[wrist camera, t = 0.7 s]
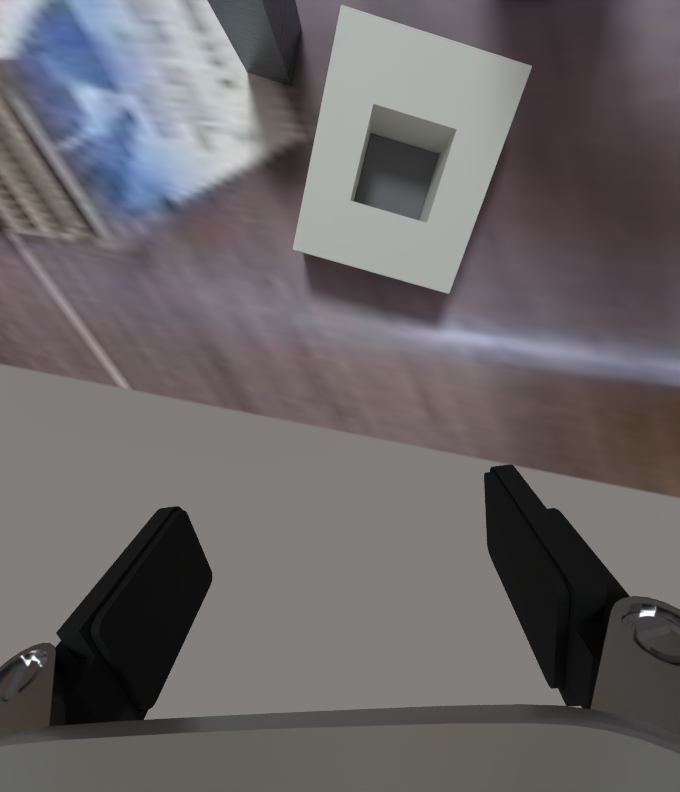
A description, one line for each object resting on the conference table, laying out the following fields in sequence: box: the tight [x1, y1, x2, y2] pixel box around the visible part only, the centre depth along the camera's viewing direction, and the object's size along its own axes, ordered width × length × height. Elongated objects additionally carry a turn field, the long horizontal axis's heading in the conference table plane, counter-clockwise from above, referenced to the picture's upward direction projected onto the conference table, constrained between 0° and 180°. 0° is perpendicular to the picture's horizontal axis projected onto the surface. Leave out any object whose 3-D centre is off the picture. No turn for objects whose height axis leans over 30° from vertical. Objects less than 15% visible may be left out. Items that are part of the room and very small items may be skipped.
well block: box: [293, 5, 532, 294], centre depth 29 cm, size 16×14×6 cm
